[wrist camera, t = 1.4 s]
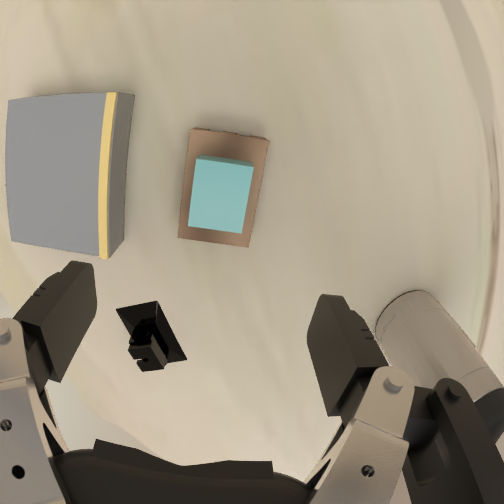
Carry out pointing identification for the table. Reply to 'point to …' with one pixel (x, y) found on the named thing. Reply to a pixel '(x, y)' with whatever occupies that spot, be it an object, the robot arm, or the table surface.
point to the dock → (68, 170)
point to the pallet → (232, 149)
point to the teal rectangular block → (220, 193)
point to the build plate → (150, 336)
